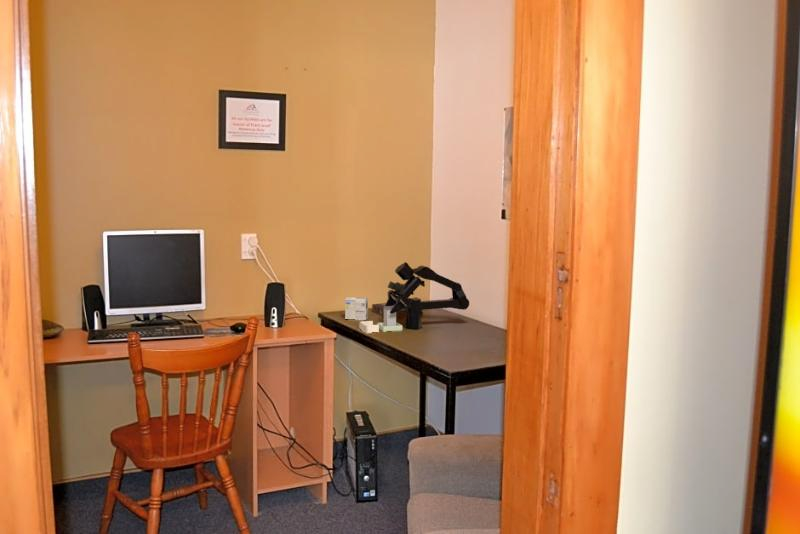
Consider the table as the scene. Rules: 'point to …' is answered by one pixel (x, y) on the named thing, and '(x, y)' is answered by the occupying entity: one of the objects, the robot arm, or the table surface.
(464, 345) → the table surface
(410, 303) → the robot arm
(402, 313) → the book
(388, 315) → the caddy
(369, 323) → the bay
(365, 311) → the light bulb box
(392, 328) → the tray
